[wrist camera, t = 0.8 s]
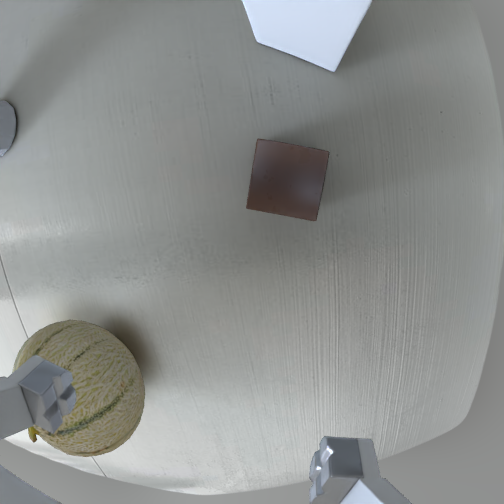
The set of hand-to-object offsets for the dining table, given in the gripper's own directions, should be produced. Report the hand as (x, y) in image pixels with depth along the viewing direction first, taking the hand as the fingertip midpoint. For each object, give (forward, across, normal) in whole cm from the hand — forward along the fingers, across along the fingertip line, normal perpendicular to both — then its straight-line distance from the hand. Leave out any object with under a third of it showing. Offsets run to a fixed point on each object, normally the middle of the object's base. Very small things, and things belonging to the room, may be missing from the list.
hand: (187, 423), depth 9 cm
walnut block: (+21, -2, -7) cm, 22 cm away
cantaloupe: (+22, +15, +16) cm, 31 cm away
